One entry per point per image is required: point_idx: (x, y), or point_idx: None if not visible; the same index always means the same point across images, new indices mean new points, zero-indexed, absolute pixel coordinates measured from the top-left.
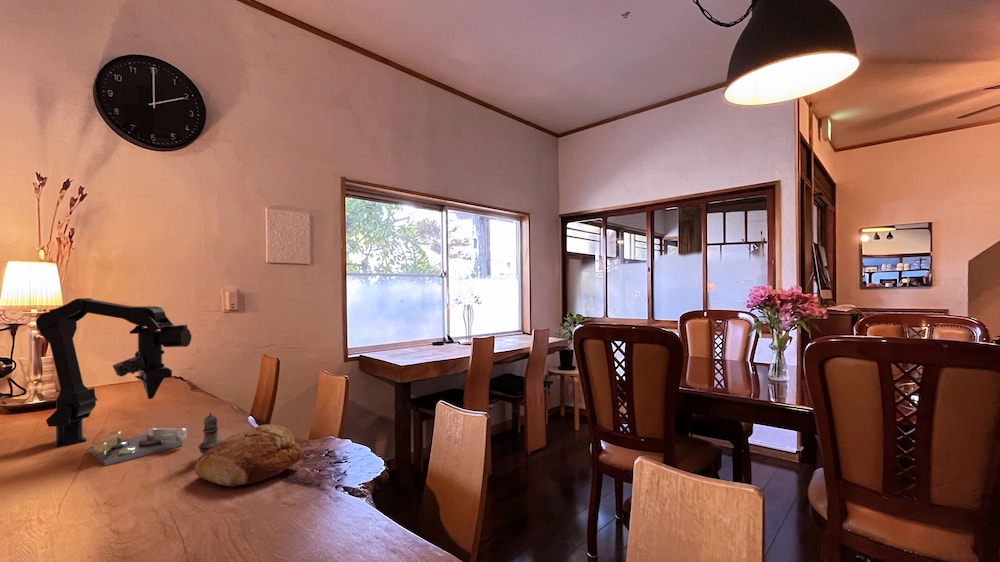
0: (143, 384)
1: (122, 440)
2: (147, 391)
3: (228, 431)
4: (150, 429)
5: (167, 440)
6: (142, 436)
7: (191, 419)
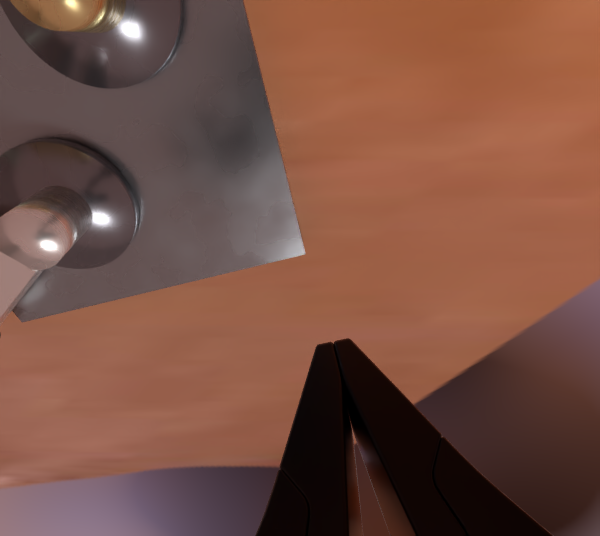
0: (494, 502)
1: (137, 42)
2: (293, 430)
3: (165, 428)
4: (12, 234)
5: (60, 269)
6: (238, 159)
7: (479, 338)
